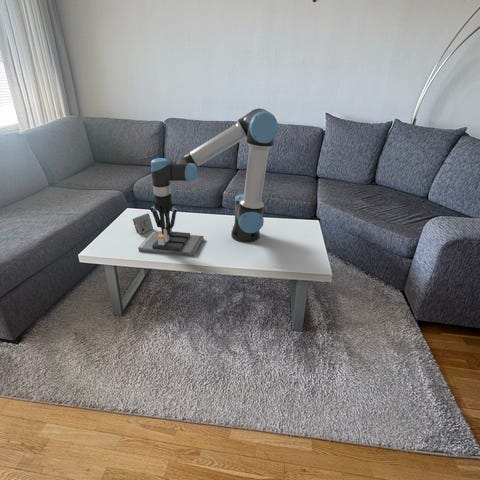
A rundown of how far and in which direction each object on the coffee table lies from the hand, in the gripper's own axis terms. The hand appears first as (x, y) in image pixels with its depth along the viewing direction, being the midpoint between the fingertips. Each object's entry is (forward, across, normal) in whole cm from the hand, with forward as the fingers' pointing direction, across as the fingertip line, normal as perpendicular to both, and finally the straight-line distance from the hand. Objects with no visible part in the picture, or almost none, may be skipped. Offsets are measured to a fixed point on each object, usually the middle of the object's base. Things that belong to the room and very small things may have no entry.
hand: (167, 240), depth 159 cm
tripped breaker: (+2, +3, 0) cm, 3 cm away
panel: (+6, 0, -6) cm, 8 cm away
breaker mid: (+2, +4, -6) cm, 7 cm away
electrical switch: (+6, +21, -19) cm, 29 cm away
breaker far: (+2, +4, -12) cm, 13 cm away
